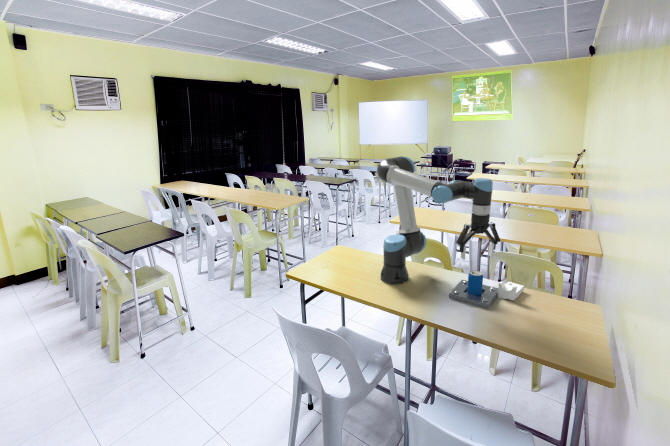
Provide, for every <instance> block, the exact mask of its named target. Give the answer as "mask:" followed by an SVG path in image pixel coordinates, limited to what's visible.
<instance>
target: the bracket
mask: <svg viewBox="0 0 670 446" xmlns="http://www.w3.org/2000/svg"><path fill="white" fill-rule="evenodd" d="M524 287H525V285H522V284H520V283H519V284H518V283H516V282H511V281H508V282H506V283H505V284H504V281H502V280H501V281H500V282H499V283H498V287H497V288H498V296H497V298H499V299H502V300H507V299H508V300H510V301H515V300H516V299H517V298H518V297H519V296H520V295H521V293H523V292H524V290H525V289H524Z"/></svg>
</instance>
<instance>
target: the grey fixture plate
mask: <svg viewBox="0 0 670 446" xmlns="http://www.w3.org/2000/svg"><path fill="white" fill-rule="evenodd" d="M467 287H468V280H467V279H466V280H465V279H461V280H460V281H459V282H458V283H457V284H456V285H455V287H453V288H452V289H451V291H450V292H449V293H448V299H451V300H455V301H457V302H460V303H461V302H462V303H463V304H464V303H465V304H468V305H471V306H474V307H475V306H476V307H479V308H482V309H486V310H490V308H491V306H492V305H493V303H494V302H495V300H496V299H497V298H498V287H495V286H490V285H487V284H482V295H481V297H480V296H476V295H472V294H469V293H467Z"/></svg>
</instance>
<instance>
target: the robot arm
mask: <svg viewBox="0 0 670 446" xmlns="http://www.w3.org/2000/svg"><path fill="white" fill-rule="evenodd" d="M415 171H416V166H415V163H414V161H413V160H412V159H411V158H410V157H408V156H396V157H391V158H384V159H383V160H381V161H380V162H379V163H378V165H377V167H376V174H377V177H378V178H379V179H380V180H381V181H383V182H385V183H388V184H391V185H392V186H393V188H394V192H395V199H396V205H397V211H398V216H399V217H398V218H399V223H400V230H399V232H398V234H391V235H388V236H387V237H385V238H384V241H383V266H382V269H381V272H380V280H381V281H382V282H384V283H386V284H389V285H390V284H391V285H401V284H405V283H407V282H408V281H409V278H410V276H409V272H408V268H407V266H406V264H407V263H406V260H407V258H408V257H411V256H414V255H417V254H419V253H421V252H422V251H423V250H424V249H425V248H426V245H427V238H426V234H424V233H423V232H422V231H421V228H420V227H418V224H417V219H416V212H415V206H414V200H413V193H412V192H413V191H414V192H417V193H420V194H422V195H425V196H427V197H431V198H432V200H433V201H434V202H435V203H437V204H447V203H449V202H452V201H454V200H455V201H456V200H459V199H469V200H472V206H471V207H472V208H471V220H470V224H467V223H464V224H463V229H462V230H461V232H460V234H459V236H458V238H457V239H456V241H455V243H456V244H457V245H458V246H459V252H460V258H461V259H462V260H463V261H465V260H466V253H467V252H466V250H467V246H466V244H467V243H468V242H469V241H471V238H472V237H474V236H475V235H479V234H481V235H482V234H485V235H486V236H487V238H488V239H489V247H488V255H487V256H488V257H490V258H494V251H495V250H496V246H497V244H498V243H500V242H501V239H500V235H499V233H498V231H497V229H496V223H495V222H493V221H490V217H491V206H492V205H491V204H492V194H493V191H494V189H493V180H492V179H490V178H483V177H479V178H475V179H474V182H473V181H464V180H460V179H458V180H457V179H456V180H455V179H454V180H451V181H450V182H449V183H443V182H440V181H437V180H435V179H431V178H429V177H425V176H423V175H420V174H416V173H415ZM488 228H490V230H491V233H492V234H491V233H490V231H489V230H488Z"/></svg>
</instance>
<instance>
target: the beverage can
mask: <svg viewBox="0 0 670 446" xmlns="http://www.w3.org/2000/svg"><path fill="white" fill-rule="evenodd" d="M467 281H468V287H467V293H469V294H472V295H476V296H480V297H481V296H482V284H483V281H484V275H483V272H482V271H479V270H470V271H469V273H468V276H467ZM483 285H484V284H483Z"/></svg>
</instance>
